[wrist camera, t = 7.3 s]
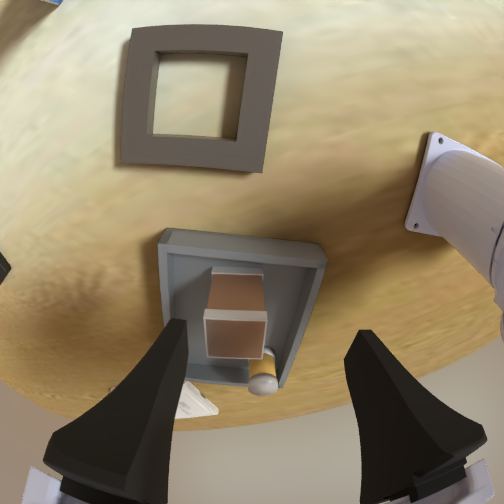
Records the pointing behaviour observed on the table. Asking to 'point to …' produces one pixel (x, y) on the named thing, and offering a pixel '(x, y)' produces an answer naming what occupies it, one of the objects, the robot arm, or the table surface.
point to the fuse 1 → (235, 314)
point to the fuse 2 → (263, 374)
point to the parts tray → (274, 288)
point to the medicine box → (53, 1)
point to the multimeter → (3, 268)
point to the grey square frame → (199, 147)
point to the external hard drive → (192, 403)
